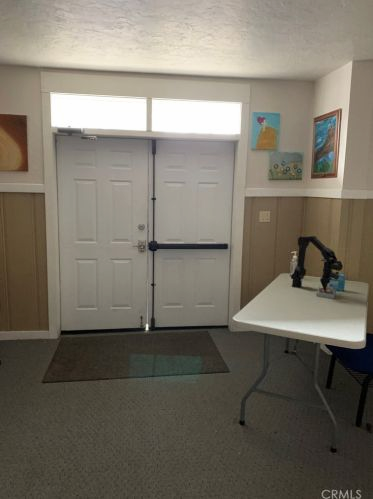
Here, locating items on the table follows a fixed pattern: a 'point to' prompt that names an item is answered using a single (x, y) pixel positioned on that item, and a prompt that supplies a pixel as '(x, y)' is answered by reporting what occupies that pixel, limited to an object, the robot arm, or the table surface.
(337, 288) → the data package
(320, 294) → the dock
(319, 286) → the brown cardboard box
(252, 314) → the table surface
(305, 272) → the robot arm
